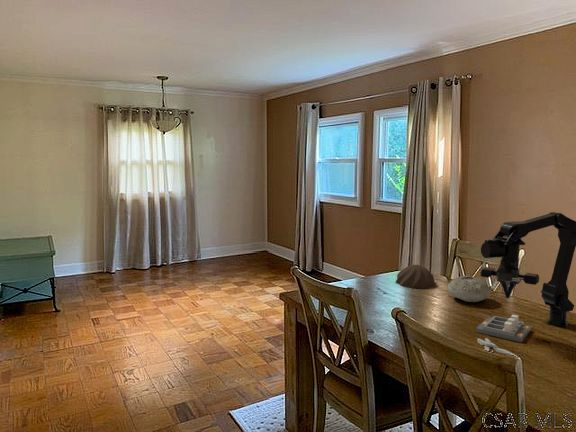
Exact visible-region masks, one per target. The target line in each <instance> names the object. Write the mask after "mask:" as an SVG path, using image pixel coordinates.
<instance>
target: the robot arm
mask: <svg viewBox="0 0 576 432" xmlns="http://www.w3.org/2000/svg"><path fill="white" fill-rule="evenodd" d="M552 226H553V227H554V228H555V229H557V230H558V231H557V237H558V241H559V242H560V243H559V246H558V247H559V248H558V252H557V255H556V258H555V263H554V266H553V272H552V275H551V278H550V280H549V281H547V283H546V282H543V284H542V289H541V291H540V293H541V298H542V300H543V302H544V305H546V306H549V312H548V313H549V315H548V319H547V320H546V322H545V323H546V324H549V325H551V326H552V325H553V326H558V327H563V328H566V327H567V326H568V325H569V323H570V321H569V320H568V312H569V313H570V312H572V311H574V308H575V304H573V302H572V301H571V300H570V299H569V293H570V292H569V288H568V285H567V282H568V278H569V273H570V270H571V266H572V262H573V258H574V254H575V251H576V220H573V219H572V218H571V217H567V216H566V215H565V214H564V213H561V212H556V211H555V212H554V211H551V212H549V213H547V214H543V215H540V216H537V217H534V218H529V219H526V220H523V221H522V220H521V221H507V222H503V223H502V224H501V226H500V228H499V230H497V232H496V234H495V235H494V236H493V239H489V238H485V239H484V242H483V243H482V244H481V246H480V254H481V256H482V257H483V258H485V259H491V258H492V259H495V258H496V259H497V258H501V259H500V264H499V266H498V268H497V269H496V268H495V267H488V266H485V267H484V268H482V269H481V270H480V277H481V278H487V279H488V278H489V279H490V278H491V277H492V276H493V277H494V276H495V277H496V282H499V283H500V284H501V287H502V289H503V292H504V295H505V298H506V299H510V297H511V295H512V293H513V290H514V289H515V287H516V285H518V284H520V283H521V282H522V281H523V282H524V283H525V284H527V285H535V286H536V285H537V284H538V283H539V282H540V276H539V274H538V273H532V272H525V274H521V273H520V269H519V266H520V265H519V261H520V246H525V245H526V242H525V241H523V240H522V239H523V238H525V237H526V236H528V234H529V233H531V232H535V231H538V230H541V229H544V228H548V227H552Z"/></svg>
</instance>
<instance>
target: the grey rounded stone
mask: <svg viewBox="0 0 576 432" xmlns="http://www.w3.org/2000/svg"><path fill="white" fill-rule="evenodd" d="M447 290H448V292H449V294H450V295H451V296H452V297H455V298H457V299H460V300H461V301H463V302H466V303H468V302H469V303H477V302H481V301H483V300H487V299H488V298H489V297H490V296H491V287H490V286H489V285H488V283H487V282H485V281H484V280H482V279H481V278H479V277H474V276H471V275H463V276H462V275H461V276H456V277H455V278H452V279H451V280H450V282H448V285H447Z"/></svg>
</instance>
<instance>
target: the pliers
mask: <svg viewBox="0 0 576 432" xmlns="http://www.w3.org/2000/svg"><path fill="white" fill-rule="evenodd" d="M476 341H477V343H478V344H480V345H481V346H483V347H484V349H483V351H484V350H487V351H489V350H490V348H491V349H493V350H491V352H494V350H495V352H496V353H499V354H504V355H509V354H510V355H509V356H511V355H514V356H516V357H519V356H517V355H516V354H515V353H512V352H511V351H510V350H506V349H504V348H499V347H498V346H497V344H495V343H494V342H492V341H491V340H490V339H488V338H487V337H485V338H484V340H483V339H481V338H480V337H479V338H478V337H477V340H476ZM489 352H490V351H489Z"/></svg>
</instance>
